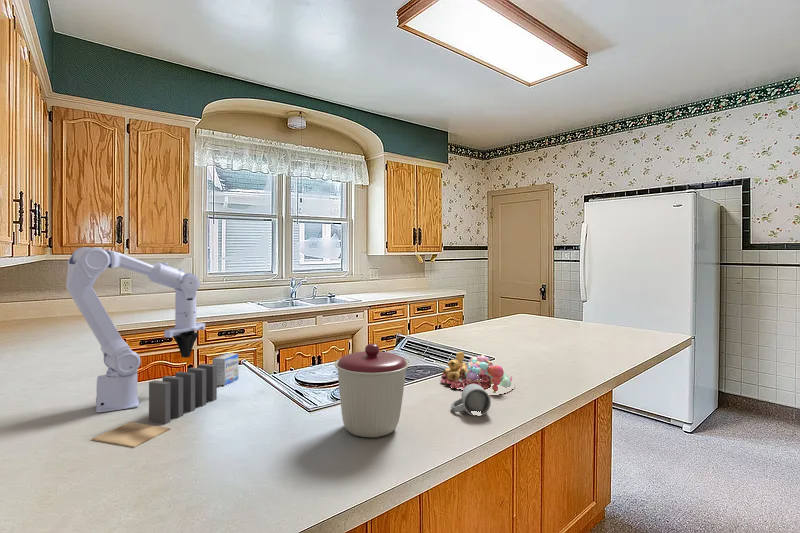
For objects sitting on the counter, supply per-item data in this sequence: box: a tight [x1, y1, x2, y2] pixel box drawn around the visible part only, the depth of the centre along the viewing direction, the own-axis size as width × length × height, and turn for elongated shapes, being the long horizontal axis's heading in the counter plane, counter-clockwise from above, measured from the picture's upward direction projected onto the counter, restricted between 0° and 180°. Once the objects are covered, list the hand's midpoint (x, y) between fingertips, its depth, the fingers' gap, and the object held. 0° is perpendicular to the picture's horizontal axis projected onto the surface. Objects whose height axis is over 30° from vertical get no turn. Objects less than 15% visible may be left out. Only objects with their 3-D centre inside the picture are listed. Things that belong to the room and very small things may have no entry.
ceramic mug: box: [450, 384, 492, 416], centre depth 120 cm, size 10×8×7 cm
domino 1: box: [148, 380, 171, 425], centre depth 108 cm, size 2×5×10 cm, turn 75°
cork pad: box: [91, 421, 171, 448], centre depth 101 cm, size 10×12×1 cm
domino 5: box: [197, 363, 218, 402], centre depth 125 cm, size 2×5×10 cm, turn 75°
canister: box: [334, 343, 410, 438], centre depth 106 cm, size 18×18×21 cm
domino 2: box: [162, 375, 184, 419], centre depth 112 cm, size 2×5×10 cm, turn 74°
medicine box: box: [212, 352, 239, 387], centre depth 141 cm, size 8×4×9 cm, turn 168°
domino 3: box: [174, 371, 196, 413], centre depth 116 cm, size 2×5×10 cm, turn 75°
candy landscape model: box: [439, 351, 513, 393], centre depth 146 cm, size 25×24×9 cm
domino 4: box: [186, 367, 207, 407], centre depth 121 cm, size 2×5×10 cm, turn 74°
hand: (185, 356), depth 132 cm, fingers closed
